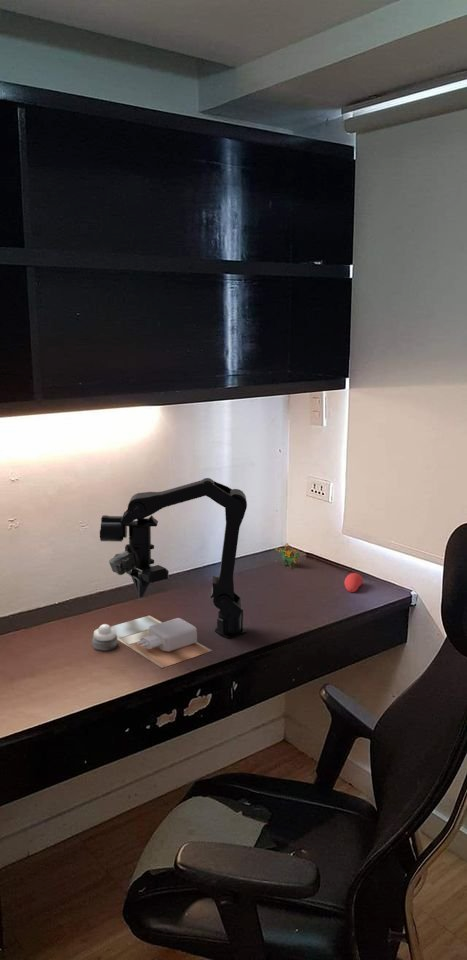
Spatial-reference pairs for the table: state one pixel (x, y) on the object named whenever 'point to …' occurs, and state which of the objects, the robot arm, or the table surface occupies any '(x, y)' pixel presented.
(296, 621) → the table surface
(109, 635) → the dome
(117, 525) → the robot arm
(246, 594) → the table surface
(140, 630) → the game board
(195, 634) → the charger
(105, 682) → the table surface
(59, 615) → the table surface
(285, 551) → the figurine
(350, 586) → the stress ball
